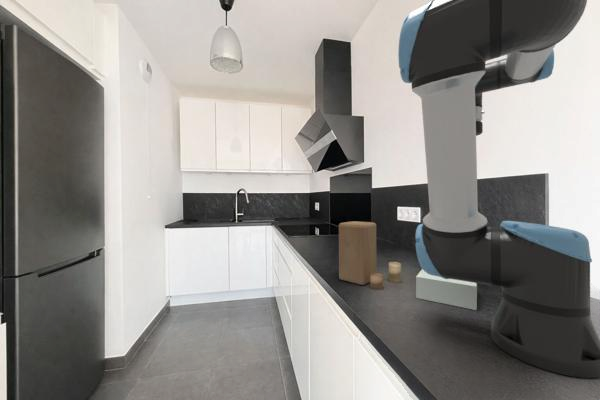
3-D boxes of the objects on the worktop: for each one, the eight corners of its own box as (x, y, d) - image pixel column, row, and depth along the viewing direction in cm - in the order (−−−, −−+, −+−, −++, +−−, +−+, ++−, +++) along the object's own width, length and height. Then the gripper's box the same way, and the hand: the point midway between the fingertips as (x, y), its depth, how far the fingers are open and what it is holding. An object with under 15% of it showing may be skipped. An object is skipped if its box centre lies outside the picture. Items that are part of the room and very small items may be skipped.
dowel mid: (399, 283, 83) (399, 265, 83) (387, 281, 85) (387, 263, 85) (402, 280, 86) (402, 263, 86) (390, 278, 88) (390, 261, 88)
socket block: (476, 310, 62) (476, 286, 62) (416, 297, 70) (416, 276, 70) (476, 293, 74) (476, 272, 74) (424, 284, 82) (424, 265, 82)
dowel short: (380, 290, 76) (380, 277, 76) (368, 288, 79) (368, 275, 79) (384, 286, 80) (384, 274, 80) (372, 284, 82) (372, 272, 82)
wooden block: (337, 279, 87) (337, 222, 87) (352, 273, 94) (352, 220, 94) (363, 286, 80) (363, 224, 80) (377, 279, 87) (377, 222, 87)
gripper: (483, 110, 70) (483, 185, 70) (482, 129, 90) (482, 188, 90) (451, 115, 74) (452, 186, 74) (457, 133, 94) (457, 189, 94)
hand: (468, 187), depth 82 cm, fingers open, 13 cm apart
